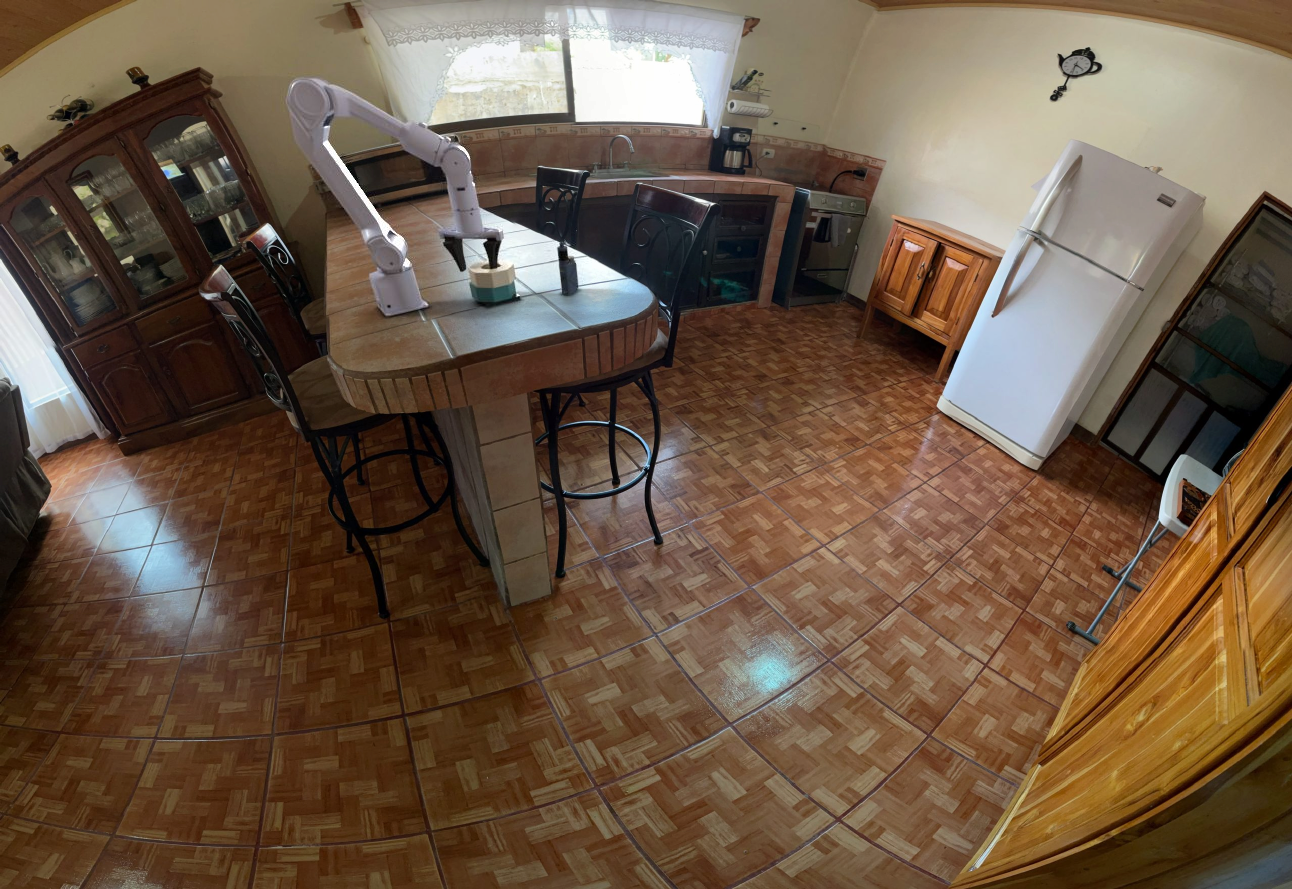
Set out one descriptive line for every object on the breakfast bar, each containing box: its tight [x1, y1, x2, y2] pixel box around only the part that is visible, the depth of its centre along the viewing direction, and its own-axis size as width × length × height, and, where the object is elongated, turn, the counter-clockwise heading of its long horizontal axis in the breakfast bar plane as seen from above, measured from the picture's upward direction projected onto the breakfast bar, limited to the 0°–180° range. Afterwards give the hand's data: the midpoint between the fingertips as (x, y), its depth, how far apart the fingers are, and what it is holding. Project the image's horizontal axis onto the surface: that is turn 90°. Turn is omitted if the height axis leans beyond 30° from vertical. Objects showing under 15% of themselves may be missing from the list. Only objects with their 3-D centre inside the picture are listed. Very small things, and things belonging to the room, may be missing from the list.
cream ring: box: [467, 259, 517, 288], centre depth 118 cm, size 10×10×3 cm
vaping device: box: [556, 241, 579, 296], centre depth 121 cm, size 3×5×12 cm, turn 152°
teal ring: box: [468, 280, 517, 303], centre depth 120 cm, size 10×10×3 cm
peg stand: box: [481, 292, 521, 308], centre depth 120 cm, size 8×8×6 cm
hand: (478, 271), depth 118 cm, fingers open, 7 cm apart
